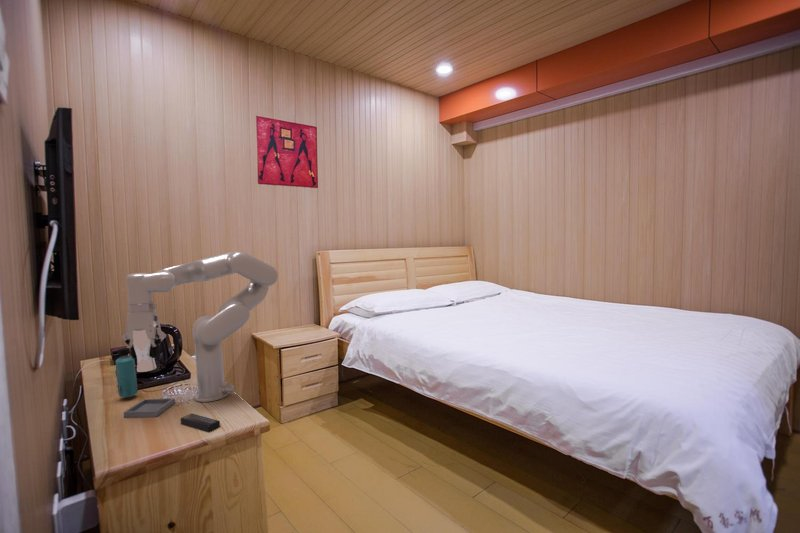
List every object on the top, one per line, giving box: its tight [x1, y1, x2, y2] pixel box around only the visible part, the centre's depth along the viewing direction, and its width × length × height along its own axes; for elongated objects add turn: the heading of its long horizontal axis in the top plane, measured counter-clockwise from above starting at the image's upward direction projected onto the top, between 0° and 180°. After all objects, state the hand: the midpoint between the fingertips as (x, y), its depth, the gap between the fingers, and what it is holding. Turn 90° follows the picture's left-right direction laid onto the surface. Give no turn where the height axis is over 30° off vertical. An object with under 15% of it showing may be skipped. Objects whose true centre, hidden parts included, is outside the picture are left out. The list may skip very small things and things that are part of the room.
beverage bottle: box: [114, 347, 139, 398], centre depth 164 cm, size 6×7×20 cm
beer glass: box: [132, 330, 157, 373], centre depth 151 cm, size 7×7×15 cm
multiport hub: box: [180, 413, 221, 433], centre depth 139 cm, size 4×14×2 cm, turn 62°
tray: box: [123, 397, 176, 419], centre depth 153 cm, size 12×12×2 cm
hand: (145, 356), depth 151 cm, fingers closed on beer glass, 6 cm apart
